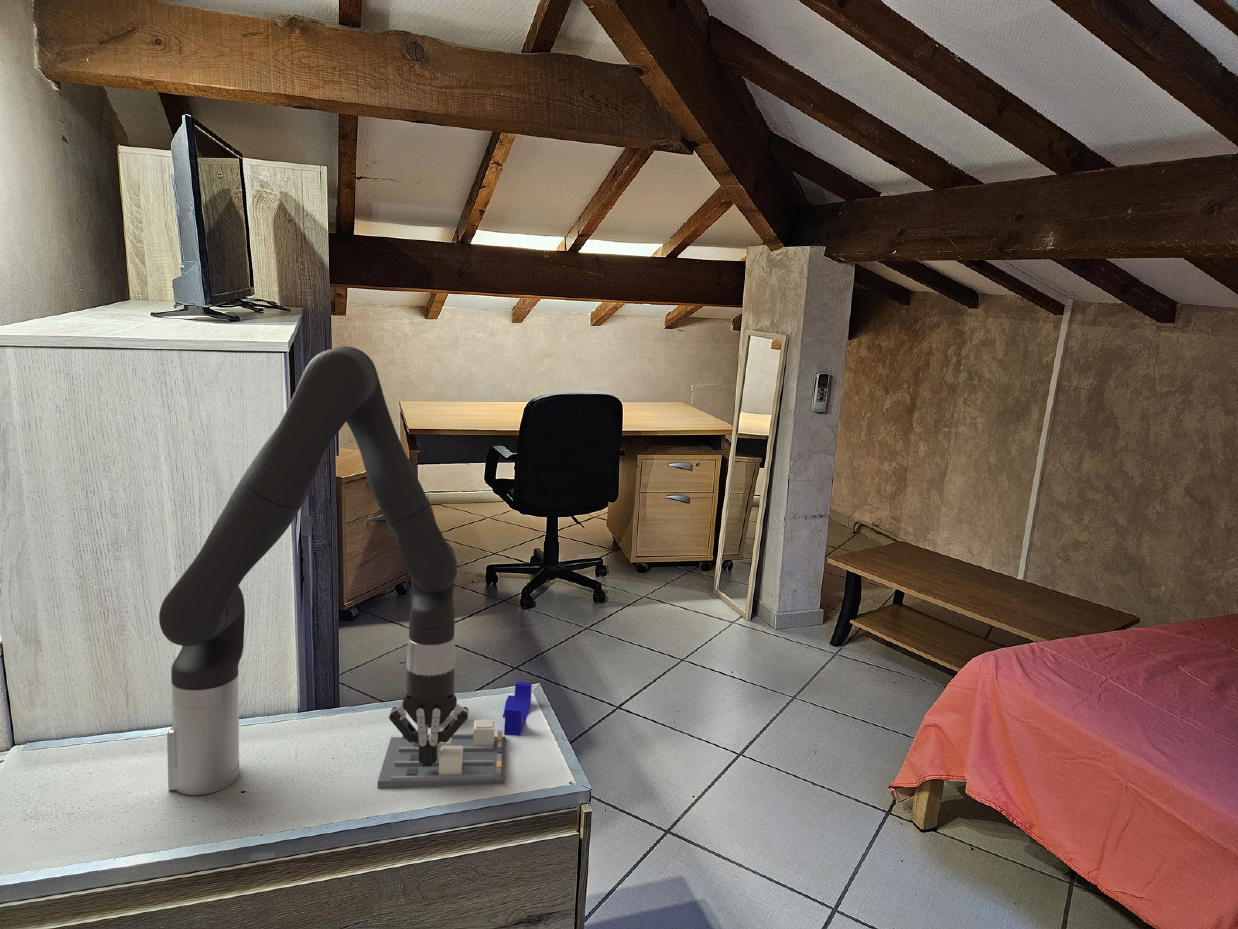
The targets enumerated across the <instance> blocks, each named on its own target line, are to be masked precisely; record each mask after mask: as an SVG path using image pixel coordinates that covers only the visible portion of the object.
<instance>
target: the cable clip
mask: <svg viewBox="0 0 1238 929" xmlns="http://www.w3.org/2000/svg"><path fill="white" fill-rule="evenodd" d="M532 684H533V683H532V682H526V681H525V682H524V681H516V683H515V686H514V687H515V688H514V695H508V696H507V698H506V700H505V706H504V710H503V714H502V717H503V719H504V727H503V728H504V731H503V733H504V734H503V735H504V736H512V735H513V736H514V737H515V736H516V737H521V735H522V731H523V729H524V726H525V723H526V720H527V717H528V714H529V712H530V711H529V710H530V706H531V703H532V690H533V687H532V686H533V685H532ZM513 736H512V737H513Z"/></svg>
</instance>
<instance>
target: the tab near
mask: <svg viewBox="0 0 1238 929" xmlns="http://www.w3.org/2000/svg"><path fill="white" fill-rule="evenodd" d="M462 764H463V747H461V746H443V747H441V750H440V755H439V775H461V774H462Z"/></svg>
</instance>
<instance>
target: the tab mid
mask: <svg viewBox="0 0 1238 929" xmlns="http://www.w3.org/2000/svg"><path fill="white" fill-rule="evenodd" d="M429 734H431V732H430V733H429ZM429 740H430V737H429ZM451 741H452V737H451V738H450V739H449V740H448V741H447V742H445V743H444V742H440V743H439V744H438V749H437V760H439V755H440V750H441V747H443V746H451ZM437 760H436V761H437Z"/></svg>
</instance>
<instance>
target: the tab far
mask: <svg viewBox="0 0 1238 929" xmlns="http://www.w3.org/2000/svg"><path fill="white" fill-rule="evenodd" d="M495 728H496V720H494V719H475V720H474V721H473V746H494V737H495Z"/></svg>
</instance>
